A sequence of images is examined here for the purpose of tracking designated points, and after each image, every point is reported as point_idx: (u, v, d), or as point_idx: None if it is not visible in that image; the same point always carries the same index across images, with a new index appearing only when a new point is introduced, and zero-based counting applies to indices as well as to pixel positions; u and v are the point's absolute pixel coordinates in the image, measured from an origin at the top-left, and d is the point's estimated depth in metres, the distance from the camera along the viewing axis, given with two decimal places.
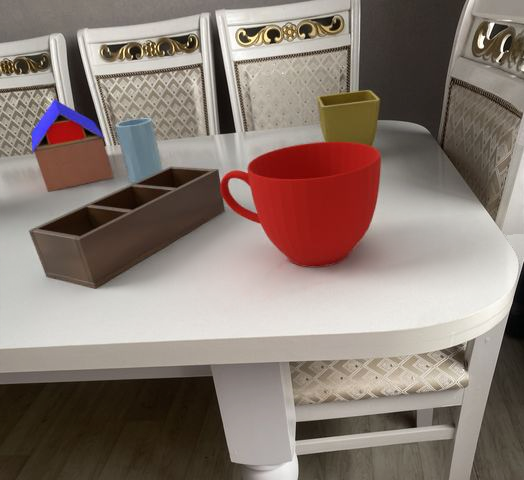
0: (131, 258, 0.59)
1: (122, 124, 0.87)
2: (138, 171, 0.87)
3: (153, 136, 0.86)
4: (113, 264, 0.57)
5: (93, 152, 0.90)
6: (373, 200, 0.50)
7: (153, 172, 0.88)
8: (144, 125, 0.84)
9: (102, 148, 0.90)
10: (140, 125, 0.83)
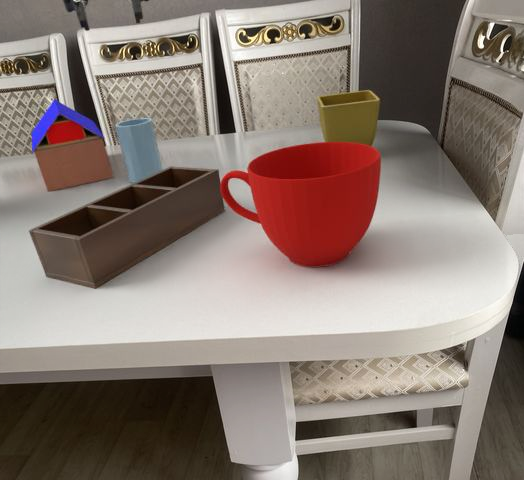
0: (131, 258, 0.59)
1: (122, 124, 0.87)
2: (138, 171, 0.87)
3: (153, 136, 0.86)
4: (113, 264, 0.57)
5: (93, 152, 0.90)
6: (373, 200, 0.50)
7: (153, 172, 0.88)
8: (144, 125, 0.84)
9: (102, 148, 0.90)
10: (140, 125, 0.83)
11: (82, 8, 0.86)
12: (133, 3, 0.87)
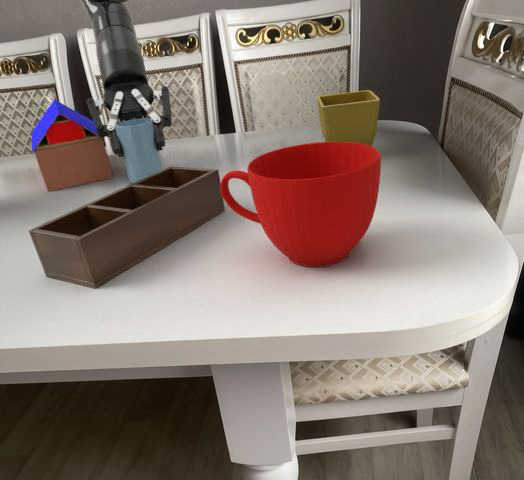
0: (131, 258, 0.59)
1: (122, 124, 0.87)
2: (138, 171, 0.87)
3: (153, 136, 0.86)
4: (113, 264, 0.57)
5: (93, 152, 0.90)
6: (373, 200, 0.50)
7: (153, 172, 0.88)
8: (144, 125, 0.84)
9: (102, 148, 0.90)
10: (140, 125, 0.83)
11: (116, 137, 0.85)
12: (156, 132, 0.86)
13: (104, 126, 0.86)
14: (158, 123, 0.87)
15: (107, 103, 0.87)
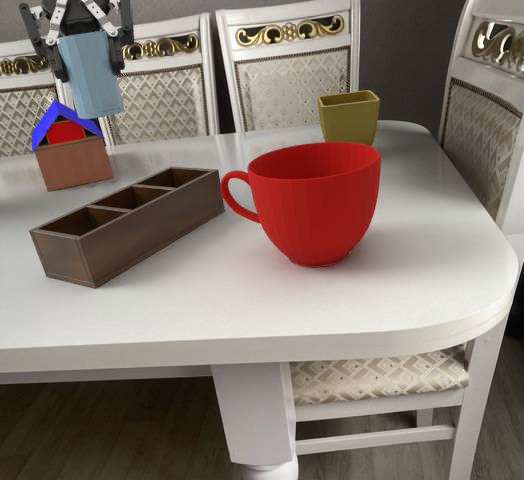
0: (131, 258, 0.59)
1: None
2: (88, 101, 0.65)
3: (108, 54, 0.64)
4: (113, 264, 0.57)
5: (93, 152, 0.90)
6: (373, 200, 0.50)
7: (109, 104, 0.66)
8: (94, 36, 0.62)
9: (102, 148, 0.90)
10: (88, 35, 0.62)
11: (57, 54, 0.64)
12: (111, 49, 0.65)
13: (42, 40, 0.64)
14: (115, 37, 0.65)
15: (47, 11, 0.65)
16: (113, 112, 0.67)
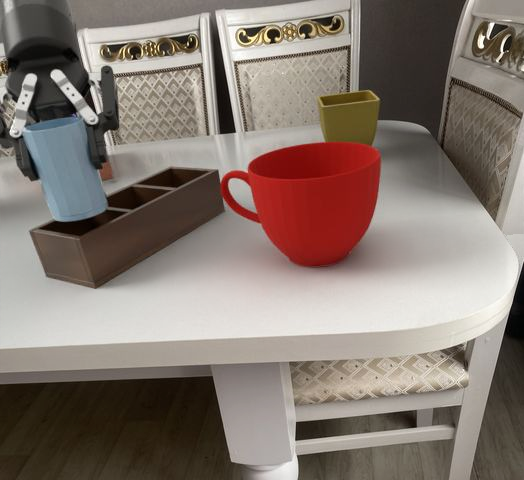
0: (131, 258, 0.59)
1: (37, 126, 0.53)
2: (63, 203, 0.54)
3: (85, 146, 0.53)
4: (113, 264, 0.57)
5: None
6: (373, 200, 0.50)
7: (88, 204, 0.54)
8: (67, 129, 0.50)
9: None
10: (60, 129, 0.50)
11: (24, 148, 0.52)
12: (90, 141, 0.53)
13: (6, 131, 0.53)
14: (95, 125, 0.53)
15: (12, 93, 0.54)
16: (94, 213, 0.55)
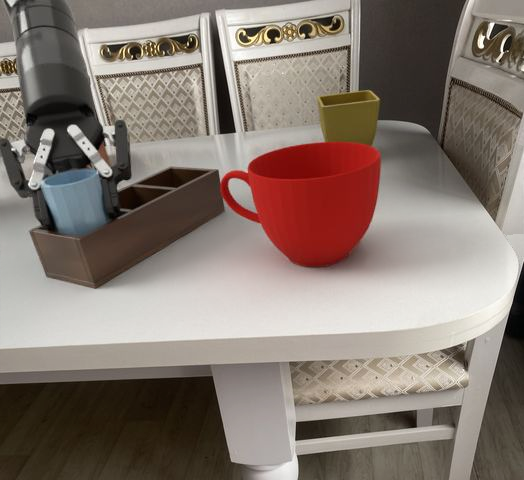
0: (131, 258, 0.59)
1: (54, 178, 0.56)
2: None
3: (100, 198, 0.56)
4: (113, 264, 0.57)
5: None
6: (373, 200, 0.50)
7: None
8: (84, 184, 0.53)
9: (102, 148, 0.90)
10: (77, 184, 0.53)
11: (42, 200, 0.55)
12: (105, 193, 0.56)
13: (25, 182, 0.56)
14: (109, 177, 0.56)
15: (30, 146, 0.56)
16: None
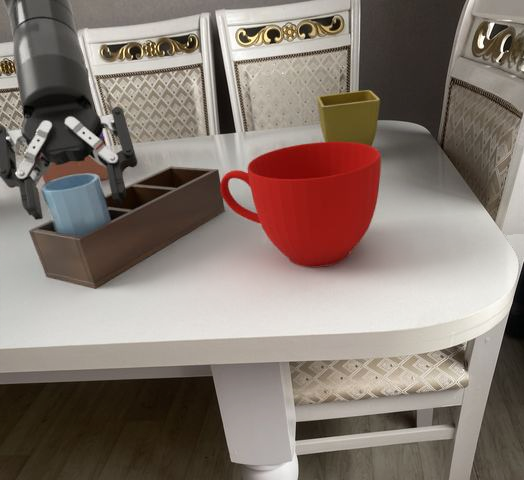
0: (131, 258, 0.59)
1: (55, 183, 0.57)
2: None
3: (101, 203, 0.56)
4: (113, 264, 0.57)
5: None
6: (373, 200, 0.50)
7: None
8: (85, 188, 0.54)
9: None
10: (78, 189, 0.53)
11: (30, 189, 0.55)
12: (110, 179, 0.55)
13: (12, 171, 0.55)
14: (115, 163, 0.56)
15: (26, 138, 0.56)
16: None
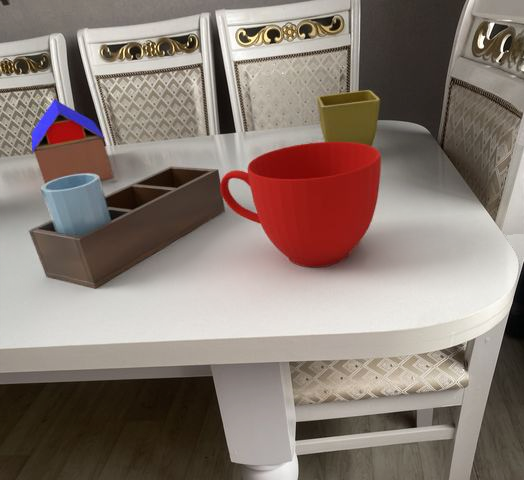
0: (131, 258, 0.59)
1: (55, 183, 0.57)
2: None
3: (101, 203, 0.56)
4: (113, 264, 0.57)
5: (93, 152, 0.90)
6: (373, 200, 0.50)
7: None
8: (85, 188, 0.54)
9: (102, 148, 0.90)
10: (78, 189, 0.53)
11: None
12: None
13: None
14: None
15: None
16: None
